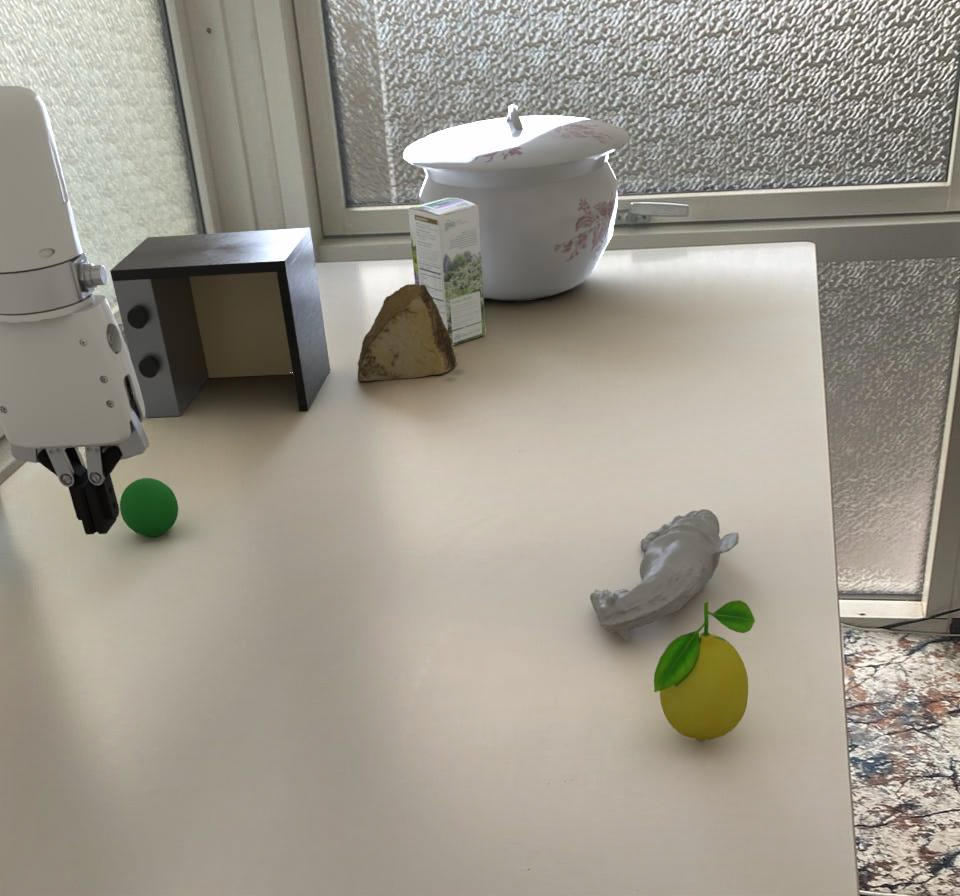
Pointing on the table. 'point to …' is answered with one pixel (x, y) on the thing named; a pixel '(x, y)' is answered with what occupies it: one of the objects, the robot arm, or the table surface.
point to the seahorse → (666, 572)
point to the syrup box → (450, 263)
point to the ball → (149, 507)
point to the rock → (406, 339)
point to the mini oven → (221, 313)
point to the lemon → (705, 677)
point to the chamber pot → (529, 196)
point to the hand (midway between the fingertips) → (101, 526)
